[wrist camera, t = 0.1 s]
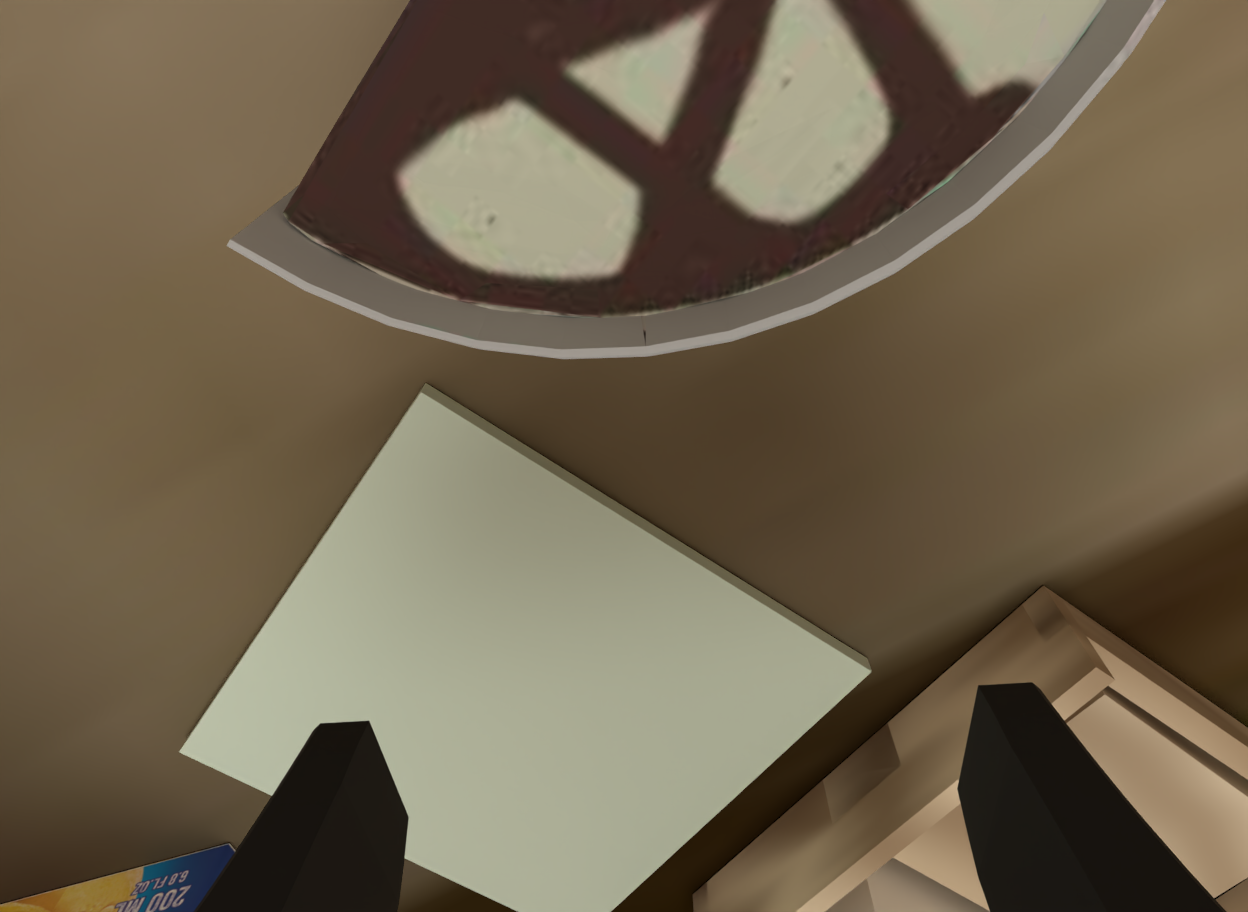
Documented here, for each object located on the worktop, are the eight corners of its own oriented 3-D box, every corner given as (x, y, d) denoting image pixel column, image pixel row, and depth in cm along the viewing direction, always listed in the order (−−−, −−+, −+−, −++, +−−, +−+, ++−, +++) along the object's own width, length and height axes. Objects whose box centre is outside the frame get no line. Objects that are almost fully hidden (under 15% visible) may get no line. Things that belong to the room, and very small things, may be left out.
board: (580, 925, 29) (579, 940, 29) (187, 738, 26) (179, 752, 25) (867, 658, 24) (871, 671, 24) (425, 382, 21) (421, 392, 20)
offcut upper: (1159, 881, 27) (1180, 918, 26) (965, 753, 25) (979, 789, 24) (1281, 803, 26) (1308, 840, 25) (1084, 661, 23) (1104, 694, 22)
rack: (1004, 1051, 32) (1036, 1151, 29) (692, 894, 28) (698, 991, 26) (1372, 815, 26) (1455, 910, 24) (1043, 585, 23) (1095, 667, 20)
